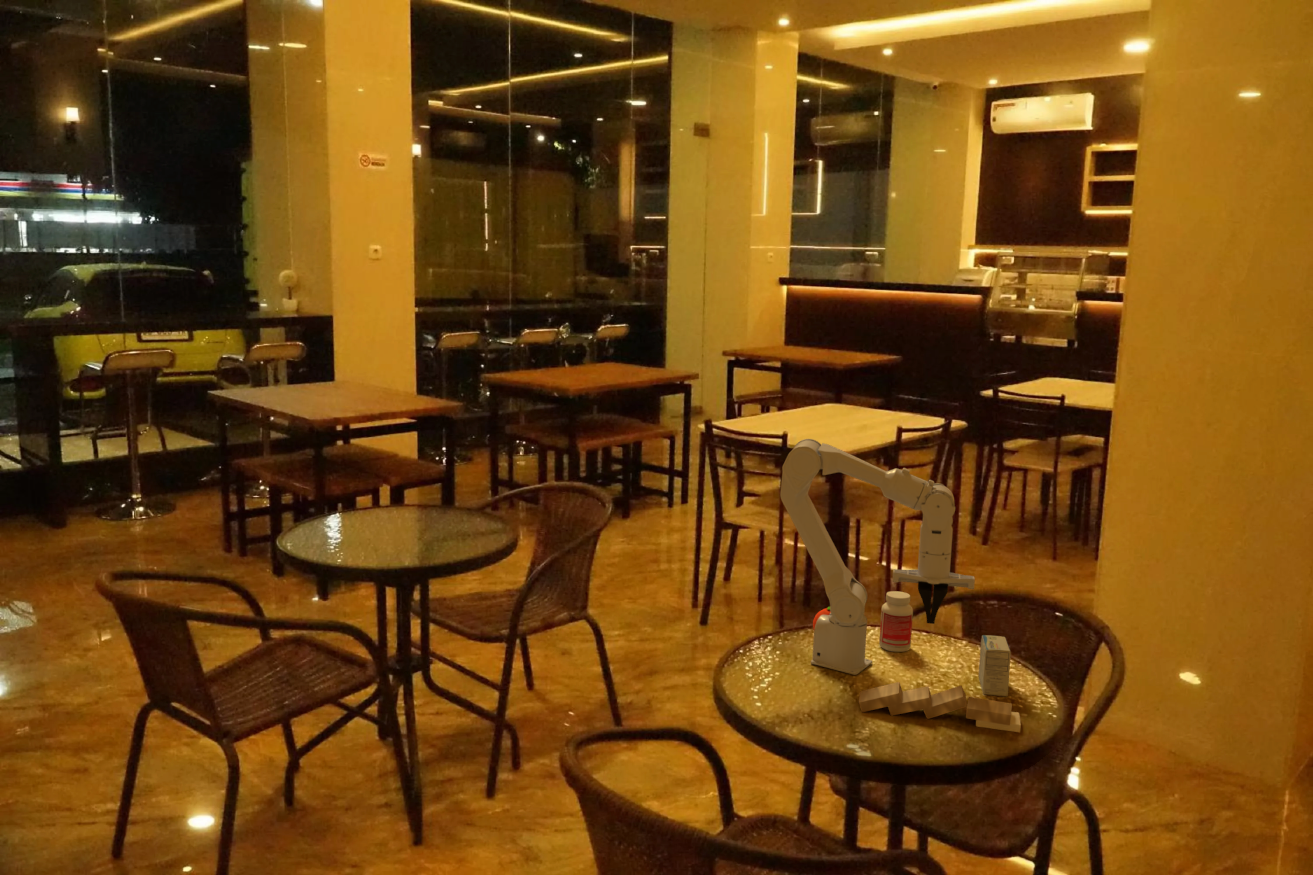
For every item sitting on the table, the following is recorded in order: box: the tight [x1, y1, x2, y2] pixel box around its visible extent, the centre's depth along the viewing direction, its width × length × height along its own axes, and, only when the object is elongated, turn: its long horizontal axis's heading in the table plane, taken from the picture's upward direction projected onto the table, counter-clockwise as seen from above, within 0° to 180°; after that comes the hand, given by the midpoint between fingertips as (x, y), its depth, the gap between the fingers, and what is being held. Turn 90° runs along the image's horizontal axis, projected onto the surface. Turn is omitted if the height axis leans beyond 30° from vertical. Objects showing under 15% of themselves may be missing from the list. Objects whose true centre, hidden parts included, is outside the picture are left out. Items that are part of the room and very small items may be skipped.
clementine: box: [812, 606, 831, 631], centre depth 211 cm, size 8×7×7 cm
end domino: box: [975, 711, 1022, 733], centre depth 175 cm, size 2×5×7 cm
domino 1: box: [858, 681, 903, 713], centre depth 179 cm, size 2×5×7 cm
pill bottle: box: [878, 590, 914, 653], centre depth 208 cm, size 6×6×11 cm
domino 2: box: [887, 685, 932, 716], centre depth 178 cm, size 2×5×7 cm
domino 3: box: [922, 685, 968, 720], centre depth 177 cm, size 2×5×7 cm
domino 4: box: [965, 696, 1013, 725], centre depth 175 cm, size 2×5×7 cm
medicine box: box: [978, 634, 1012, 697], centre depth 189 cm, size 8×4×9 cm, turn 168°
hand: (930, 621), depth 193 cm, fingers closed
